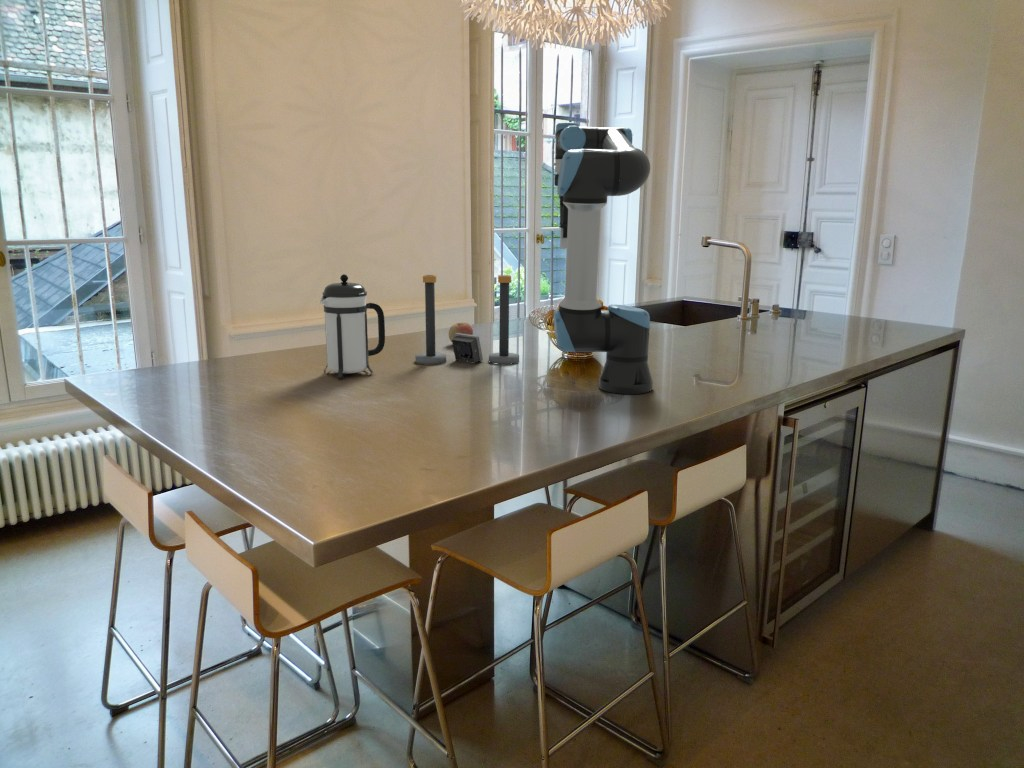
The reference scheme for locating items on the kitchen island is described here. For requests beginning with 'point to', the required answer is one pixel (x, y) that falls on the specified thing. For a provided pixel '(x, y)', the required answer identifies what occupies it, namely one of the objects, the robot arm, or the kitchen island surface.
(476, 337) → the electrical switch
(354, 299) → the coffee press
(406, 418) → the kitchen island surface
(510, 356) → the post
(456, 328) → the apple
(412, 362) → the kitchen island surface
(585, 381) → the kitchen island surface
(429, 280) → the post
